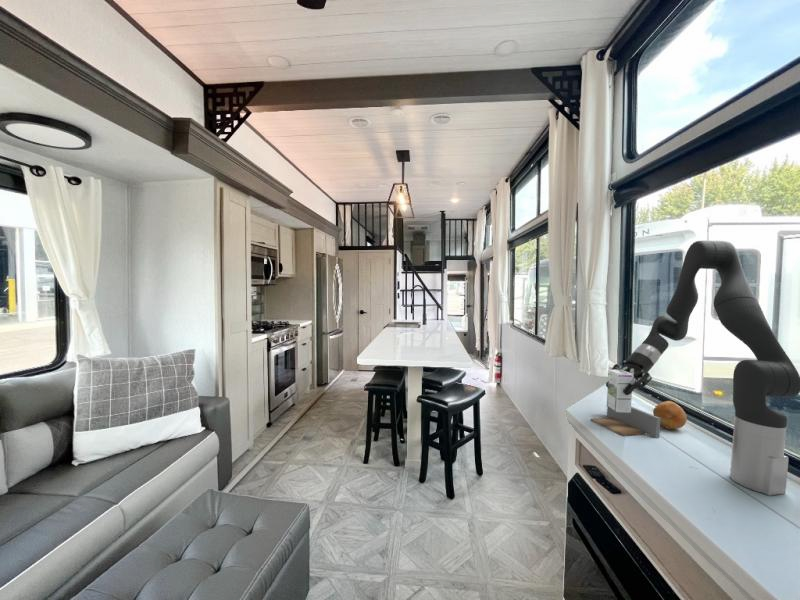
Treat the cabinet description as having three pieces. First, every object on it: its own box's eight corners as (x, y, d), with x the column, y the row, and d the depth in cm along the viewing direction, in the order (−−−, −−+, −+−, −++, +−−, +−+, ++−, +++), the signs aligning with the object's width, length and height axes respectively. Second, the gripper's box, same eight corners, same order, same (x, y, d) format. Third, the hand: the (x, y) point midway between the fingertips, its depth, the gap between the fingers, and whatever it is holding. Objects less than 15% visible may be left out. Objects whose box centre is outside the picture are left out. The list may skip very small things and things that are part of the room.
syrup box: (631, 413, 119) (634, 373, 118) (615, 412, 119) (617, 373, 119) (621, 407, 125) (623, 369, 124) (605, 406, 125) (608, 369, 124)
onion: (647, 421, 129) (649, 396, 129) (677, 424, 127) (679, 399, 126) (659, 431, 120) (661, 404, 120) (691, 435, 117) (694, 408, 117)
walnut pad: (645, 434, 116) (645, 432, 116) (623, 436, 114) (623, 434, 114) (611, 418, 130) (611, 417, 130) (590, 420, 128) (590, 418, 128)
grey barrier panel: (659, 437, 114) (660, 418, 114) (655, 438, 114) (657, 418, 113) (609, 415, 134) (610, 398, 133) (606, 415, 133) (607, 398, 133)
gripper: (621, 347, 130) (594, 378, 127) (657, 355, 116) (628, 389, 114) (630, 360, 131) (605, 390, 129) (667, 370, 117) (639, 404, 115)
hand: (616, 390), depth 121 cm, fingers closed on syrup box, 6 cm apart
